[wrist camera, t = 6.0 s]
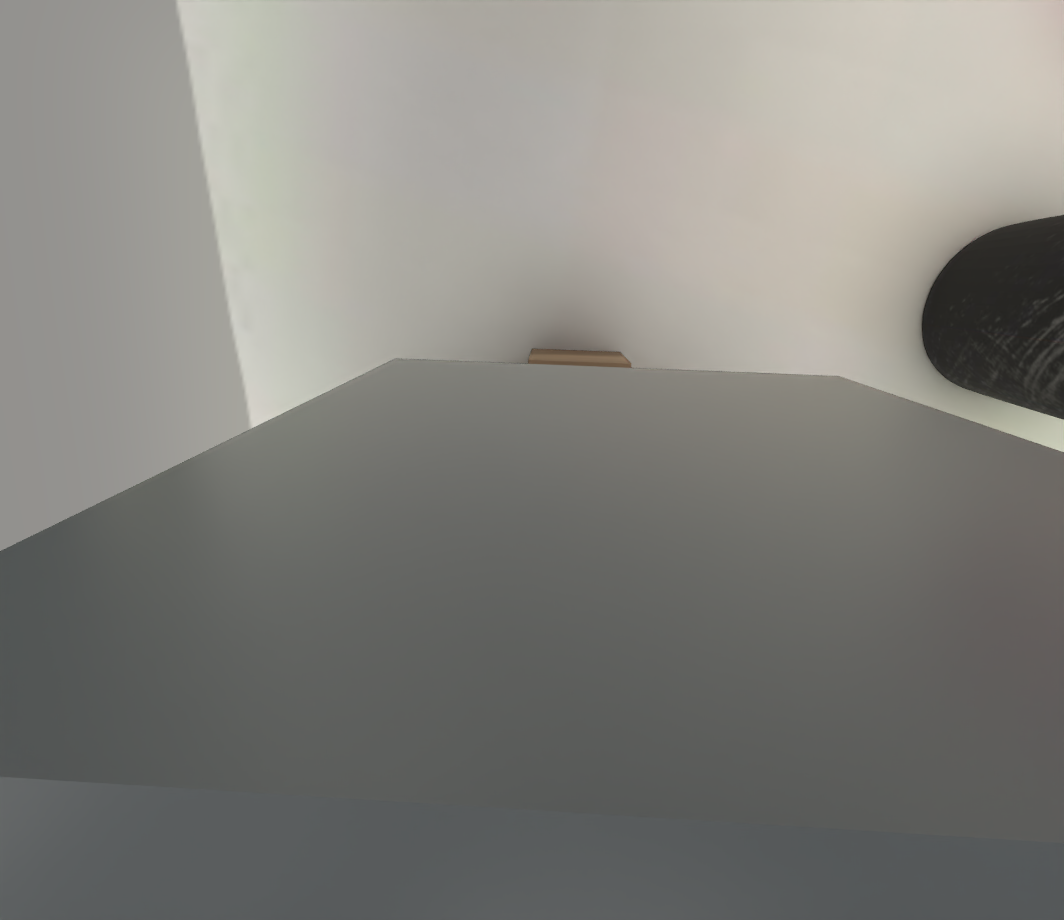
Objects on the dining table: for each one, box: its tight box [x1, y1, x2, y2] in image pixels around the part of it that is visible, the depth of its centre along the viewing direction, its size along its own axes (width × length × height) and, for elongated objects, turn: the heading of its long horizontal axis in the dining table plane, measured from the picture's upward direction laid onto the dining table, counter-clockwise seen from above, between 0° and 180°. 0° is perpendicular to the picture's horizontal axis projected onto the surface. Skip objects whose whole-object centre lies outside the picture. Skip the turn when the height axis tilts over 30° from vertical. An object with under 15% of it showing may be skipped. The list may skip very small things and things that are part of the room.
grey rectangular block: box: [0, 359, 1064, 920], centre depth 8 cm, size 12×8×9 cm, turn 178°
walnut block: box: [528, 349, 631, 368], centre depth 24 cm, size 4×4×4 cm
